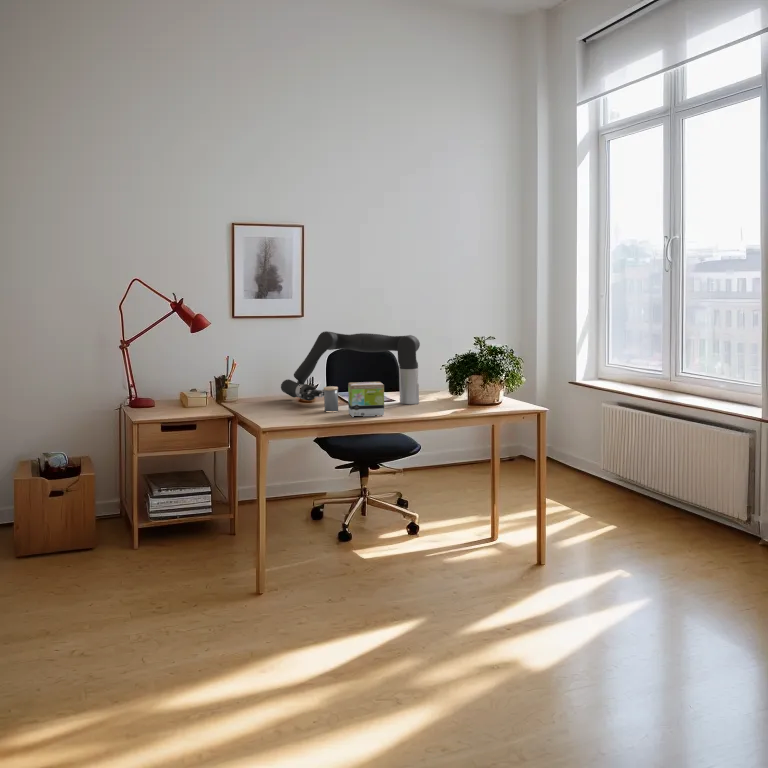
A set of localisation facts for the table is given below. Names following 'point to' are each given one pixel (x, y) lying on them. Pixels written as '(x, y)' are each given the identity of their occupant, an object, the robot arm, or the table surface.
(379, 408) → the tea box
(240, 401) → the table surface
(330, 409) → the canister
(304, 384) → the robot arm
